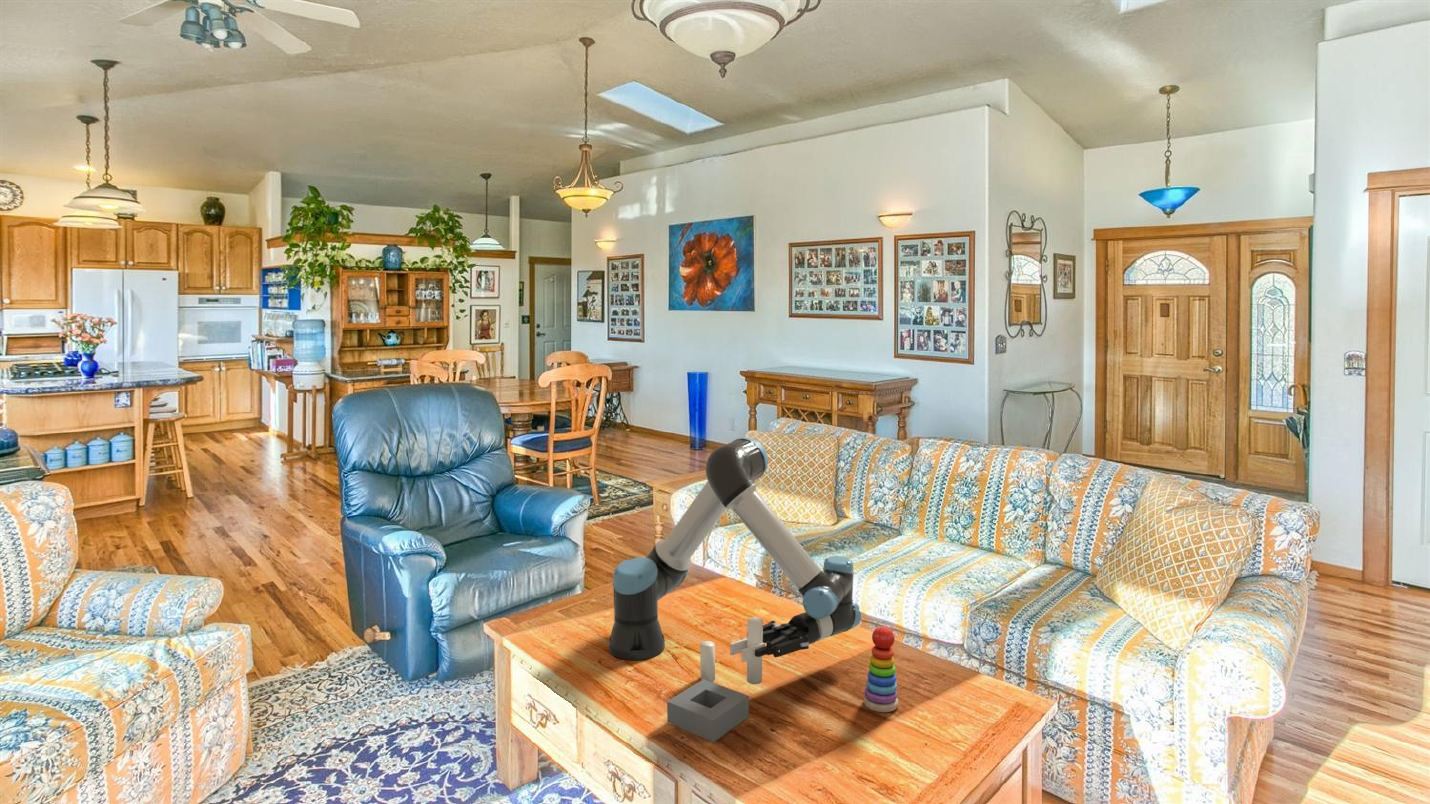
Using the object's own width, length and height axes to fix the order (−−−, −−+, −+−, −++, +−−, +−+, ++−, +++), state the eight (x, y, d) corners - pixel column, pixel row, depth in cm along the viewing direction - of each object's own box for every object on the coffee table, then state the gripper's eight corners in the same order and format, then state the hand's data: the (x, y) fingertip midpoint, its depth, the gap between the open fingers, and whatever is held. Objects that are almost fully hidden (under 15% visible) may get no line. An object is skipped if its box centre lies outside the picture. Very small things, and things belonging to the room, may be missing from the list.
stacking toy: (899, 715, 177) (901, 636, 175) (863, 712, 179) (864, 634, 176) (898, 698, 185) (899, 622, 183) (863, 695, 187) (864, 619, 184)
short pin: (697, 679, 195) (697, 644, 194) (706, 673, 198) (706, 639, 197) (709, 683, 193) (708, 648, 192) (717, 678, 196) (717, 643, 194)
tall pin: (743, 681, 186) (744, 620, 184) (752, 675, 189) (753, 616, 187) (756, 685, 184) (757, 624, 182) (764, 680, 187) (765, 619, 185)
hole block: (667, 722, 175) (667, 701, 174) (703, 699, 185) (703, 679, 185) (713, 742, 167) (713, 720, 167) (748, 716, 177) (748, 695, 177)
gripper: (833, 653, 190) (759, 682, 176) (787, 630, 203) (714, 655, 189) (834, 624, 189) (760, 650, 175) (787, 602, 202) (715, 625, 188)
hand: (736, 652), depth 182 cm, fingers closed on tall pin, 3 cm apart
